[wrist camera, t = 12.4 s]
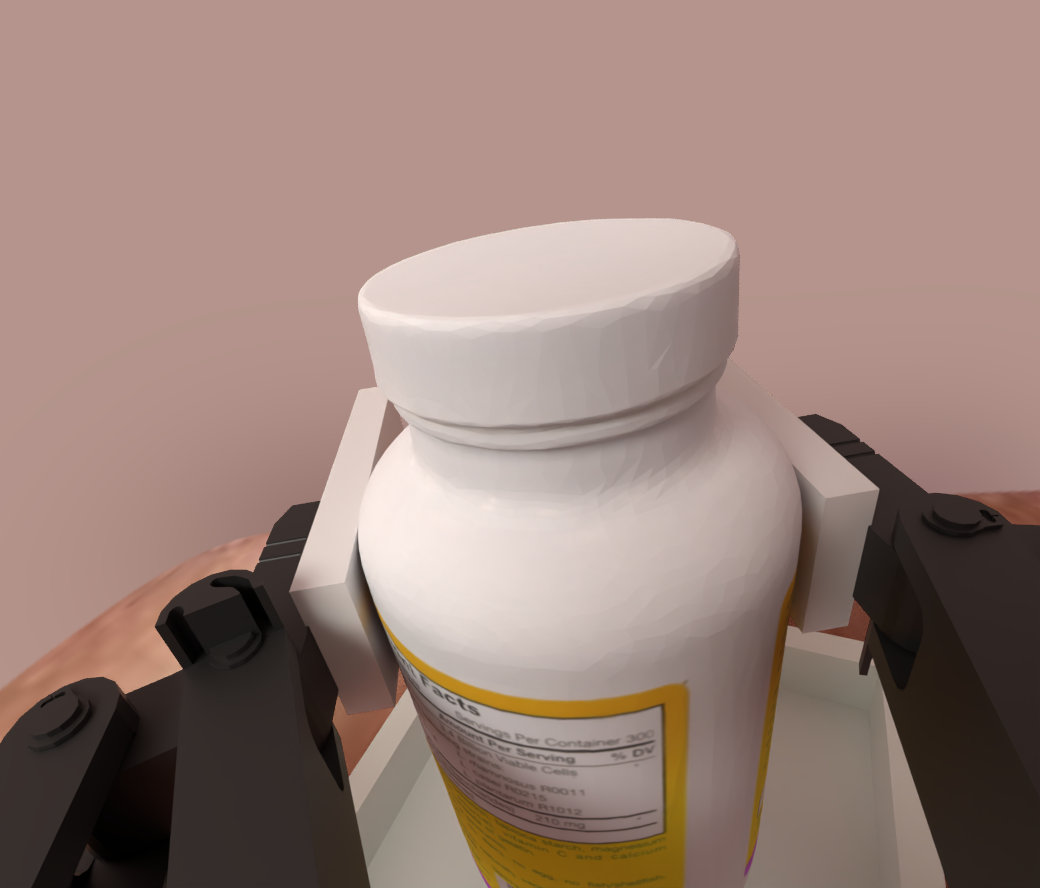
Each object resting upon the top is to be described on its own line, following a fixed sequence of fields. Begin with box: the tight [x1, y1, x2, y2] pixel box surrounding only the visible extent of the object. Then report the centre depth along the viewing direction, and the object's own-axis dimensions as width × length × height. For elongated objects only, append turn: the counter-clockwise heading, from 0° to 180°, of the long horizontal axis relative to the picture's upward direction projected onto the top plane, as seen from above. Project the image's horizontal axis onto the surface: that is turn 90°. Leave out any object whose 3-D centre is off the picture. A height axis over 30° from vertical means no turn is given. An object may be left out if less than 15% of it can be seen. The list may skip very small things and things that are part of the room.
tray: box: [349, 626, 946, 888], centre depth 14 cm, size 14×14×2 cm
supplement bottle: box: [358, 218, 802, 888], centre depth 10 cm, size 7×7×13 cm
